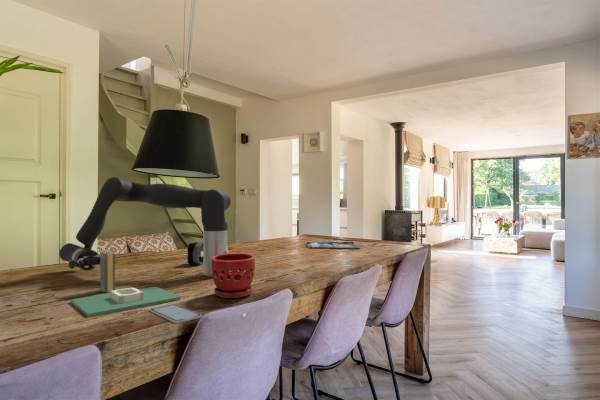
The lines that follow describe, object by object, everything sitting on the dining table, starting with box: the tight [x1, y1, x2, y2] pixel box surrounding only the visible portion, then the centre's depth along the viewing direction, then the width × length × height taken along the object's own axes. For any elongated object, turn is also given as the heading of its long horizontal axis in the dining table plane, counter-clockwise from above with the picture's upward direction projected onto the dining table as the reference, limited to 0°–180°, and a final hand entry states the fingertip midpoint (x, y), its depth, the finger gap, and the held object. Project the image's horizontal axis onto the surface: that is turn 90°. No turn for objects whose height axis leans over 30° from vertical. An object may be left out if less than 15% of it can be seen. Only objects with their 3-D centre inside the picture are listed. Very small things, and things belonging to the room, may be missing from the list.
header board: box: [70, 286, 181, 318], centre depth 106 cm, size 24×18×3 cm
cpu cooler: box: [187, 241, 203, 266], centre depth 168 cm, size 10×6×10 cm, turn 168°
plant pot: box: [211, 252, 256, 299], centre depth 113 cm, size 13×13×12 cm
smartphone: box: [149, 303, 203, 324], centre depth 94 cm, size 7×1×15 cm
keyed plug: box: [99, 251, 116, 294], centre depth 118 cm, size 3×5×12 cm, turn 43°
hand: (97, 264), depth 126 cm, fingers open, 8 cm apart
